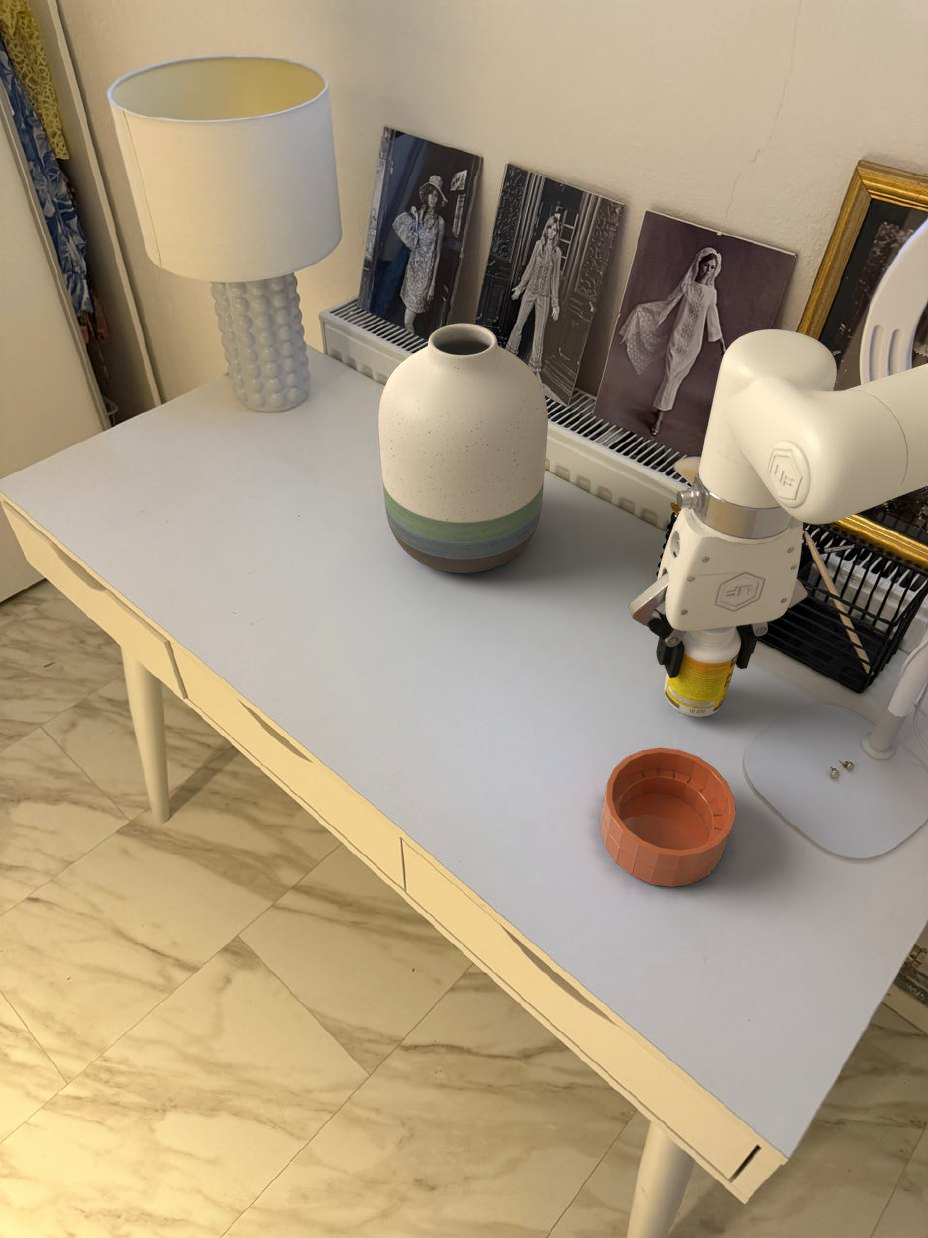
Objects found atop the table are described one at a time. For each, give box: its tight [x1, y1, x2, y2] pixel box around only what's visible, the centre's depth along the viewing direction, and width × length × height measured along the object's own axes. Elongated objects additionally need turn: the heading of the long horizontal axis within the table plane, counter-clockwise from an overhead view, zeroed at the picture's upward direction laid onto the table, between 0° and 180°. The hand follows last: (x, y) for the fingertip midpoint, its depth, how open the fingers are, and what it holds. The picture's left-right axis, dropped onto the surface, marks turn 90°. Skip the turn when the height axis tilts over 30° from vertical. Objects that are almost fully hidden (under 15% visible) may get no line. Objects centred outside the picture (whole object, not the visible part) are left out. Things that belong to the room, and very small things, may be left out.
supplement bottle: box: [663, 626, 741, 718], centre depth 82 cm, size 6×6×10 cm
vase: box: [377, 323, 549, 574], centre depth 95 cm, size 17×17×24 cm
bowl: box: [599, 747, 737, 888], centre depth 75 cm, size 10×10×5 cm
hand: (702, 660), depth 82 cm, fingers closed on supplement bottle, 5 cm apart
